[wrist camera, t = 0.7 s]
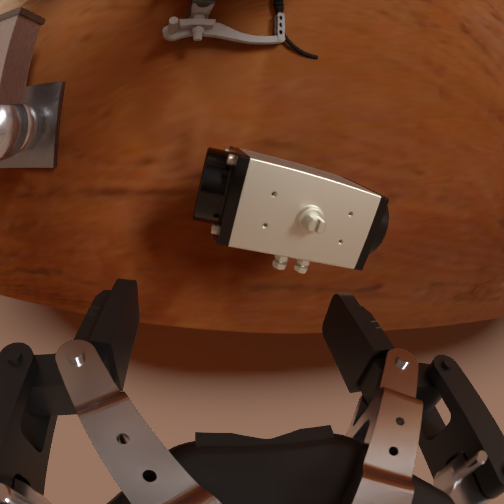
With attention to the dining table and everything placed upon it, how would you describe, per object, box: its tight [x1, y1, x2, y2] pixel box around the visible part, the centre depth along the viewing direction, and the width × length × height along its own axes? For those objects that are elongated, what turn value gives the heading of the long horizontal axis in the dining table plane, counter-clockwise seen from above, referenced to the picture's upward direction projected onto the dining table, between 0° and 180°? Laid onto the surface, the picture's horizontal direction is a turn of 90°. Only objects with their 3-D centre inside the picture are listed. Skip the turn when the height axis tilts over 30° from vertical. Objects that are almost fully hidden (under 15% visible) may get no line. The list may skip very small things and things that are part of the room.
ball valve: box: [193, 146, 389, 273], centre depth 29 cm, size 18×8×18 cm, turn 75°
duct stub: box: [0, 82, 65, 168], centre depth 26 cm, size 12×12×5 cm
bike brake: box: [162, 0, 318, 59], centre depth 24 cm, size 14×7×20 cm
